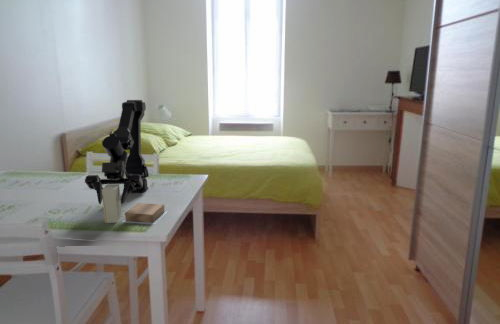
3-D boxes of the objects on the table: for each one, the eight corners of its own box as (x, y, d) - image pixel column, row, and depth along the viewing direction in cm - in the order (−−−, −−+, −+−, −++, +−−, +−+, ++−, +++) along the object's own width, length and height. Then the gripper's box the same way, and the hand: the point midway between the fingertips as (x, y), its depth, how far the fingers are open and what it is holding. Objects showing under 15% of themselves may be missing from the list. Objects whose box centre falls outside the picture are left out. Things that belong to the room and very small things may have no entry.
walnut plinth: (125, 221, 127) (124, 212, 126) (138, 210, 136) (138, 203, 135) (153, 222, 125) (152, 214, 124) (164, 212, 134) (164, 204, 134)
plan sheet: (121, 222, 126) (121, 222, 126) (137, 210, 137) (137, 209, 137) (154, 225, 124) (154, 224, 124) (168, 212, 135) (168, 211, 135)
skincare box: (109, 216, 131) (106, 184, 128) (122, 216, 132) (119, 183, 129) (104, 223, 125) (100, 189, 122) (117, 223, 126) (114, 189, 123)
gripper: (83, 152, 126) (73, 193, 118) (138, 151, 127) (132, 192, 119) (94, 169, 136) (86, 207, 128) (145, 168, 137) (140, 206, 128)
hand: (110, 203), depth 126 cm, fingers open, 7 cm apart
